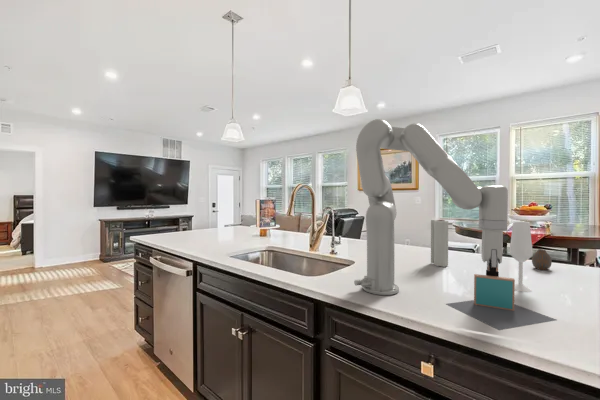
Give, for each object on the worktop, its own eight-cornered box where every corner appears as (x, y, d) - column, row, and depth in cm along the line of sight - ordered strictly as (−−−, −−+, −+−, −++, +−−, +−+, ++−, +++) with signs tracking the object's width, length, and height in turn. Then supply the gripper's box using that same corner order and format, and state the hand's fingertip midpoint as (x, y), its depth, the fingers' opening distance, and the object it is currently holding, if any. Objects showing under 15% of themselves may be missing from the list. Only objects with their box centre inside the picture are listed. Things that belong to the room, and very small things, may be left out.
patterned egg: (550, 268, 135) (550, 248, 134) (552, 271, 129) (553, 251, 129) (530, 266, 138) (531, 247, 138) (532, 269, 133) (532, 249, 132)
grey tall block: (450, 266, 138) (450, 220, 137) (437, 267, 138) (437, 221, 137) (443, 263, 145) (443, 219, 144) (430, 263, 145) (430, 219, 145)
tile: (474, 304, 90) (474, 275, 90) (474, 302, 92) (474, 274, 92) (514, 311, 86) (514, 280, 85) (513, 308, 87) (513, 278, 87)
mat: (499, 331, 74) (499, 329, 74) (445, 305, 91) (445, 303, 91) (557, 321, 80) (557, 319, 80) (496, 298, 97) (496, 297, 97)
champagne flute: (536, 292, 103) (537, 223, 102) (515, 291, 104) (516, 222, 103) (525, 286, 109) (526, 221, 109) (505, 285, 110) (506, 220, 110)
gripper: (477, 222, 101) (477, 275, 102) (480, 227, 88) (479, 288, 89) (504, 223, 98) (503, 278, 98) (510, 228, 85) (510, 292, 85)
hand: (492, 283), depth 93 cm, fingers closed
